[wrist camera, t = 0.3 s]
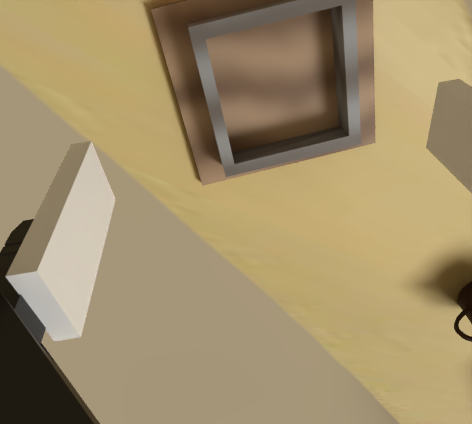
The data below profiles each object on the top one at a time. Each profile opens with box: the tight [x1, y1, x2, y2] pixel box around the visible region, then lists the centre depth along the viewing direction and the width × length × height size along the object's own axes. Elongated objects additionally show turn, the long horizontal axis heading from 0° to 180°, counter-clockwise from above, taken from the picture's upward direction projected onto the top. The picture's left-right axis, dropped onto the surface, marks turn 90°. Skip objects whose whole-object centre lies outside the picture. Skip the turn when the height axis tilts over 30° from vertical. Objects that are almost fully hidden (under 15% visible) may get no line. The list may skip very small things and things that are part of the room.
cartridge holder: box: [151, 0, 375, 186], centre depth 38 cm, size 18×20×4 cm
